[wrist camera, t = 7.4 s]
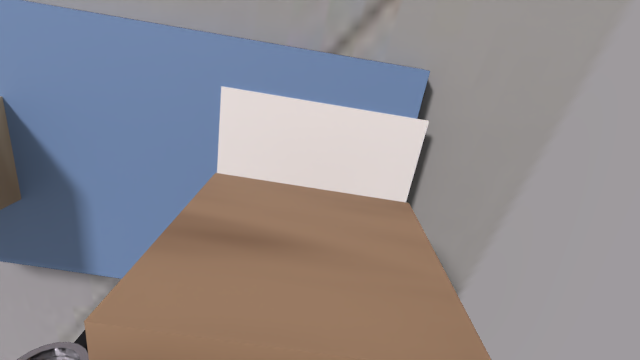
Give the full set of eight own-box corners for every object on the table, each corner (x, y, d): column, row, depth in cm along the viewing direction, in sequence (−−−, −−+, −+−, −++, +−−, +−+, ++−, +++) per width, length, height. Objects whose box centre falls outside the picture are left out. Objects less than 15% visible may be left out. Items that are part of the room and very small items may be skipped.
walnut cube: (368, 346, 13) (400, 580, 7) (207, 324, 13) (111, 548, 7) (409, 202, 11) (500, 377, 5) (215, 173, 10) (84, 320, 5)
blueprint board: (434, 71, 15) (442, 73, 14) (371, 302, 20) (373, 316, 19) (-143, -28, 14) (-180, -34, 13) (-62, 239, 19) (-85, 250, 18)
